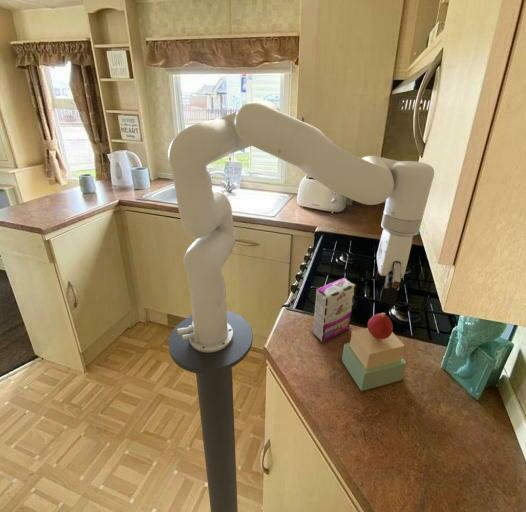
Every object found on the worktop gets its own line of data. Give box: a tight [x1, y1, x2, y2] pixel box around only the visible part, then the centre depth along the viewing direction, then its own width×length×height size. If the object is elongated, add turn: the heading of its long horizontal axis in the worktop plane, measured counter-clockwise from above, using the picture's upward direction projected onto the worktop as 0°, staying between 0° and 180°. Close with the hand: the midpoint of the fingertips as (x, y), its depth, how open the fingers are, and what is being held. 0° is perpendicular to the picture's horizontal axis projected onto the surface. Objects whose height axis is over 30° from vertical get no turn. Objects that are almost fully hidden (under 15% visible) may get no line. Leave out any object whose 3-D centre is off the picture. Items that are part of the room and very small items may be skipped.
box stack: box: [341, 327, 408, 392], centre depth 81 cm, size 12×10×11 cm
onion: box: [367, 312, 394, 339], centre depth 77 cm, size 6×6×8 cm
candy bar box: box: [312, 277, 356, 343], centre depth 92 cm, size 11×5×16 cm, turn 123°
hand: (384, 289), depth 73 cm, fingers open, 9 cm apart
